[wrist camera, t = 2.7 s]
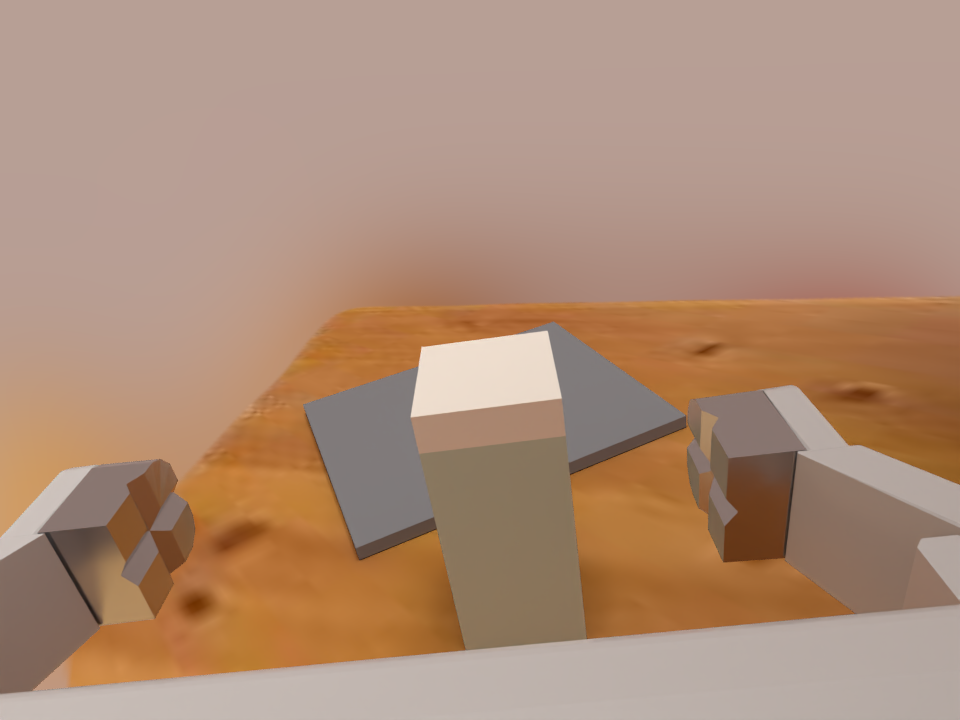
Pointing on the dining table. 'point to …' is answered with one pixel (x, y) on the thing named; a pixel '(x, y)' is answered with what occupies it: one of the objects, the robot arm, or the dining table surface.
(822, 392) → the dining table surface
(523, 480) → the sage block
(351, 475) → the rubber mat
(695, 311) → the dining table surface
